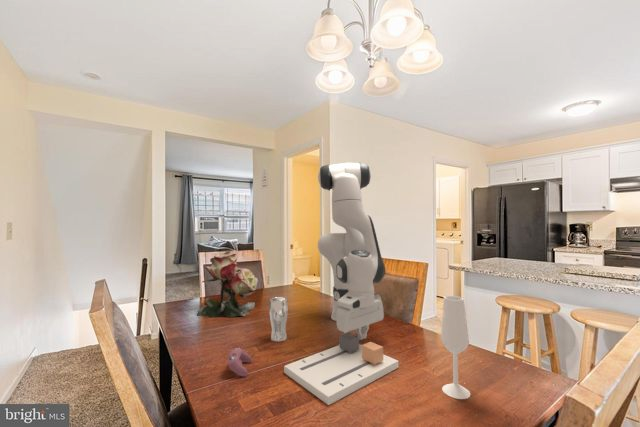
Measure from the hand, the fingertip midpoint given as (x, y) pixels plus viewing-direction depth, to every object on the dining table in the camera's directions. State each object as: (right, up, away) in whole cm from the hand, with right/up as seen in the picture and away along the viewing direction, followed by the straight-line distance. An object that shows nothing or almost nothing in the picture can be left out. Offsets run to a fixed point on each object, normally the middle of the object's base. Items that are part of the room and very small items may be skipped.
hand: (361, 338), depth 100 cm
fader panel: (-8, -4, -13) cm, 15 cm away
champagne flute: (+21, -3, -24) cm, 32 cm away
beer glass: (-30, -5, +12) cm, 33 cm away
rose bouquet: (-60, -7, +50) cm, 78 cm away
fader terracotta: (+2, -2, -12) cm, 12 cm away
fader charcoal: (-5, -2, -4) cm, 6 cm away
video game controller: (-39, -5, -11) cm, 41 cm away
